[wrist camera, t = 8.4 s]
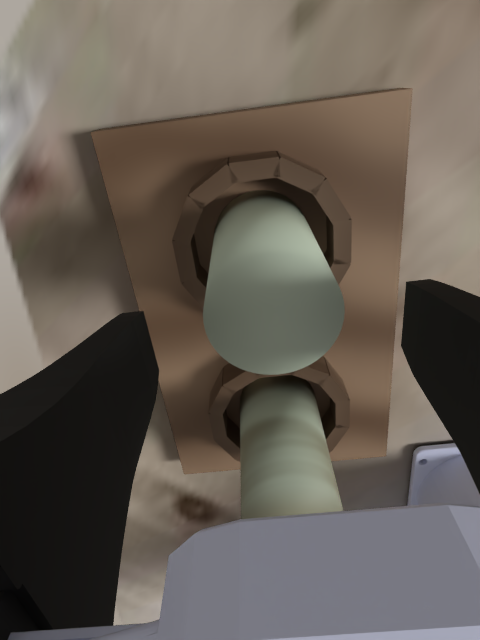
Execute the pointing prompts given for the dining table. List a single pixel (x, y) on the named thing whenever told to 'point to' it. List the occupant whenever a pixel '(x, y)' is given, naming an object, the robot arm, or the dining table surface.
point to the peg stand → (193, 268)
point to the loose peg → (269, 287)
